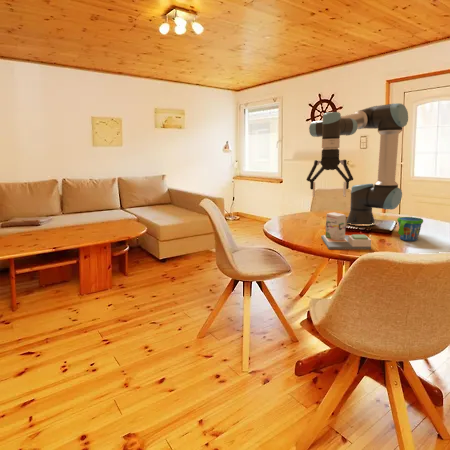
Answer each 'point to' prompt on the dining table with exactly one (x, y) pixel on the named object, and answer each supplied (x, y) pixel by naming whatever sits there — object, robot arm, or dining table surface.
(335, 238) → the ink box
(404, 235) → the snack cup
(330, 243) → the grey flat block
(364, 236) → the button
